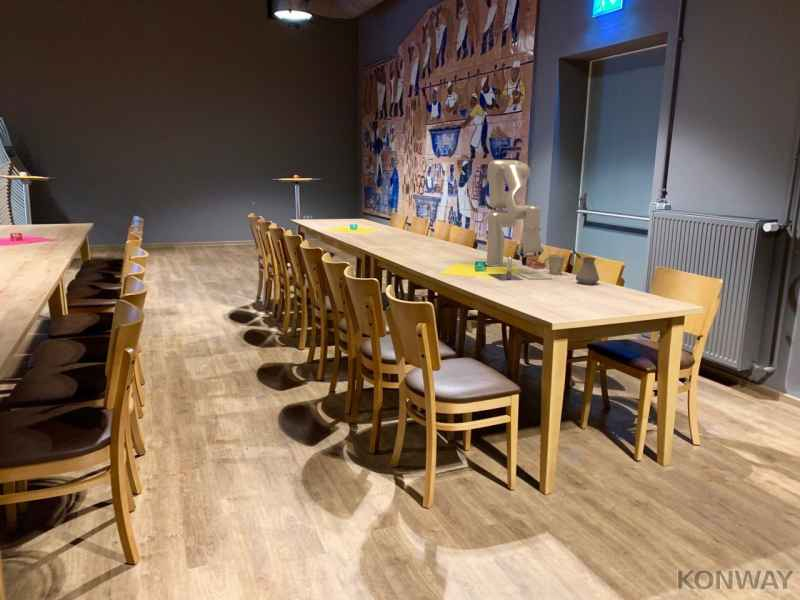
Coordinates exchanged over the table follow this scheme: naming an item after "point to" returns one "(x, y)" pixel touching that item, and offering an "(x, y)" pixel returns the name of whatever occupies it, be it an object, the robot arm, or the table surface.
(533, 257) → the link
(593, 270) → the coffee pot
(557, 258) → the mug
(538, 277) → the board
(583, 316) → the table surface
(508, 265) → the stand
